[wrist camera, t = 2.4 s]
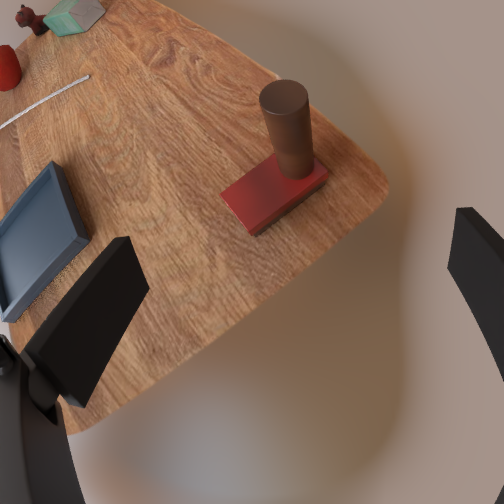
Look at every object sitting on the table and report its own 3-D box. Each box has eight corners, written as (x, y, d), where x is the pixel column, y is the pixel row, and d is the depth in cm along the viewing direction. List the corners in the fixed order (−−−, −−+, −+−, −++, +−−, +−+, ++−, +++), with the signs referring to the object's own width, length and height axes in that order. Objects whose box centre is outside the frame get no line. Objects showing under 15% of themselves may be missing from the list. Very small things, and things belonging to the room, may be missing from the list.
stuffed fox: (65, 17, 53) (42, -10, 42) (33, 44, 54) (9, 20, 42) (63, 11, 56) (42, -14, 44) (33, 36, 56) (11, 13, 45)
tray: (62, 167, 36) (51, 160, 34) (90, 241, 32) (77, 235, 30) (-5, 247, 37) (-16, 243, 35) (14, 323, 33) (1, 321, 30)
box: (76, 16, 51) (61, -2, 44) (107, 11, 47) (91, -11, 40) (56, 37, 50) (40, 19, 43) (85, 33, 46) (67, 11, 39)
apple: (6, 83, 52) (-22, 60, 40) (34, 58, 50) (6, 30, 39) (-3, 110, 48) (-35, 86, 37) (27, 83, 47) (-6, 54, 36)
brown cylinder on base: (298, 153, 29) (282, 66, 18) (328, 184, 28) (328, 102, 17) (227, 205, 29) (175, 138, 18) (255, 240, 28) (211, 184, 17)
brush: (101, 105, 44) (77, 72, 35) (-13, 170, 43) (-43, 151, 34) (99, 90, 45) (78, 57, 36) (-12, 154, 44) (-40, 135, 34)
